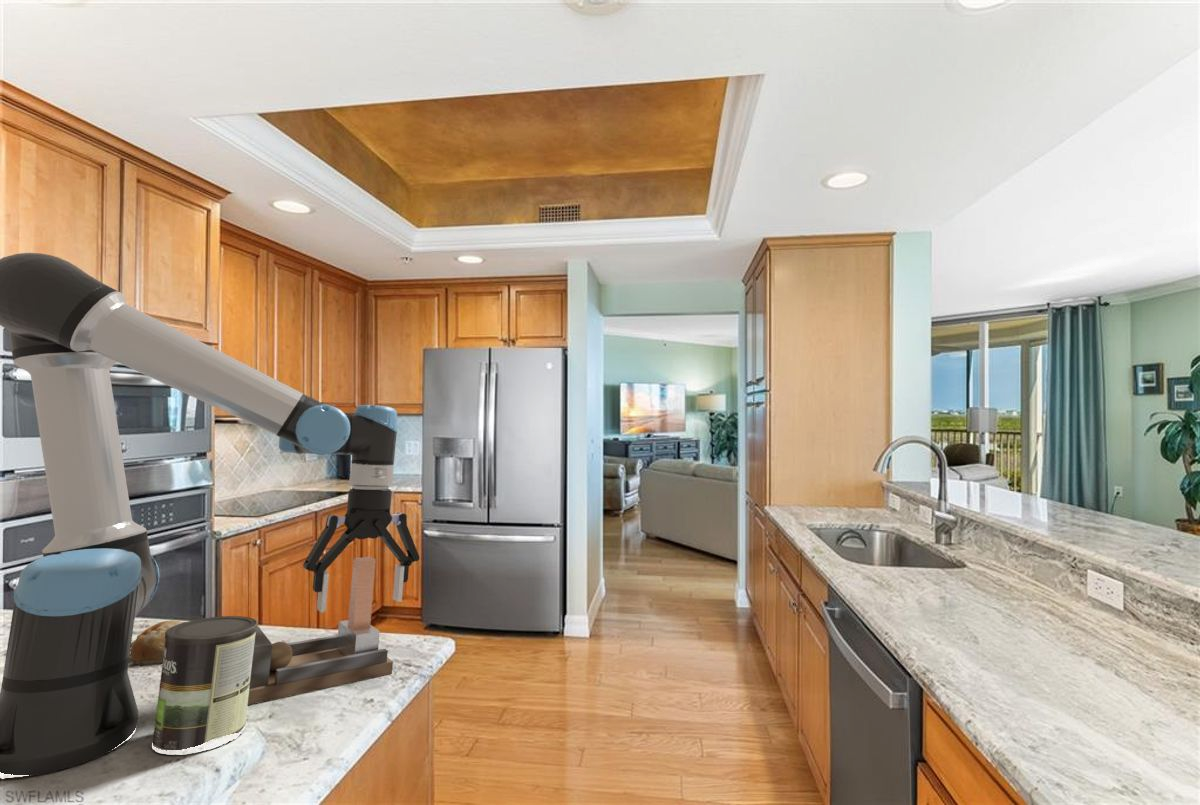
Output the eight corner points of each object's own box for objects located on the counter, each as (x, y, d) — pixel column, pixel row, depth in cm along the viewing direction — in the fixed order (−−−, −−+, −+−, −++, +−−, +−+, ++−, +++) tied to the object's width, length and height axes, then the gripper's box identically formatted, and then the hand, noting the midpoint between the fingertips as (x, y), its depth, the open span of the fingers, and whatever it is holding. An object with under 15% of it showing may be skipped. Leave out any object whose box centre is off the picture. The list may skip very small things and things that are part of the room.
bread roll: (146, 689, 94) (168, 647, 94) (108, 657, 97) (129, 616, 97) (199, 669, 104) (218, 631, 104) (162, 640, 106) (181, 603, 106)
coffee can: (151, 766, 65) (166, 643, 67) (150, 731, 73) (164, 622, 75) (252, 740, 72) (263, 629, 73) (241, 712, 79) (252, 612, 81)
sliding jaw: (353, 663, 94) (362, 563, 96) (336, 647, 101) (345, 555, 103) (377, 658, 96) (385, 561, 98) (359, 643, 104) (366, 553, 106)
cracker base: (245, 705, 81) (251, 649, 82) (231, 676, 92) (236, 627, 93) (391, 673, 96) (395, 626, 97) (365, 651, 106) (368, 608, 107)
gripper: (302, 488, 91) (289, 620, 89) (441, 489, 107) (433, 600, 105) (292, 486, 97) (279, 610, 94) (425, 487, 113) (417, 592, 110)
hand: (360, 605), depth 100 cm, fingers open, 13 cm apart
